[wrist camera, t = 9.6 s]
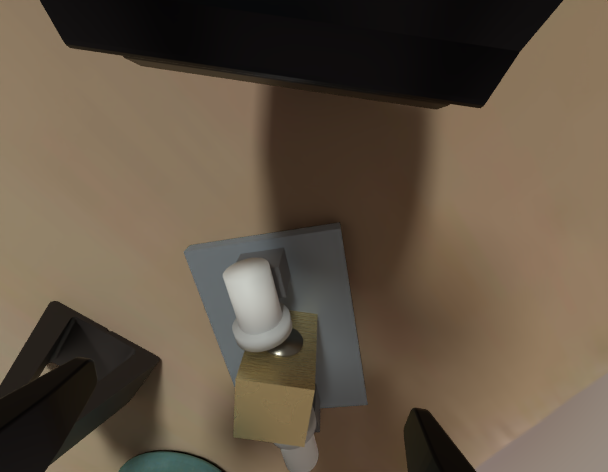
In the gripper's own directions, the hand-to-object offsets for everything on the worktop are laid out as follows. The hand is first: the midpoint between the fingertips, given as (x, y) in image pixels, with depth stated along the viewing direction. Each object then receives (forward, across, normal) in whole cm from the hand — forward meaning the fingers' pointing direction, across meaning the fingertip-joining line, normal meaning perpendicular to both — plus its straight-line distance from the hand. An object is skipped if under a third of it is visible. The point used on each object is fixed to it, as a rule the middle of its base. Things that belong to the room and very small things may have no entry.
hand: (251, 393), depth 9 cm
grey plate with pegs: (+12, 0, +8) cm, 14 cm away
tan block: (+11, 0, +8) cm, 13 cm away
